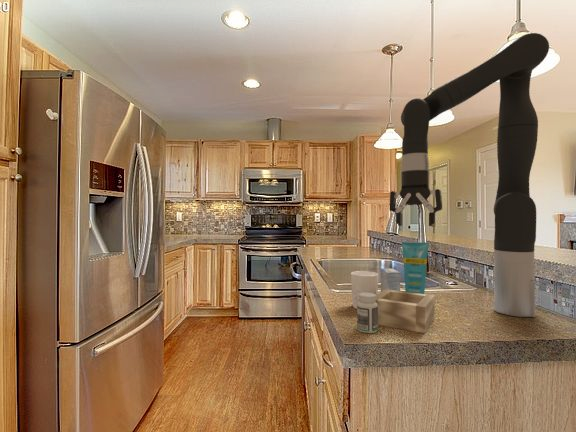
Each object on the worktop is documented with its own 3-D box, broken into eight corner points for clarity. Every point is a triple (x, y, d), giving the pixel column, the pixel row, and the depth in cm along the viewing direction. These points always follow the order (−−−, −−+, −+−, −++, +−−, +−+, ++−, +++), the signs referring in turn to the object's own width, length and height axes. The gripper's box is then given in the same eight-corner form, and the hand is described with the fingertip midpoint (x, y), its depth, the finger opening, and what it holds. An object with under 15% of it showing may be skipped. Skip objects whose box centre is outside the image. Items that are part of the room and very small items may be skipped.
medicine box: (400, 299, 106) (400, 272, 106) (386, 299, 106) (386, 272, 106) (393, 293, 113) (393, 268, 113) (380, 293, 114) (380, 268, 114)
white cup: (345, 307, 96) (345, 273, 96) (359, 302, 102) (359, 270, 102) (369, 313, 90) (369, 277, 90) (383, 307, 96) (383, 273, 96)
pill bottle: (375, 326, 79) (375, 292, 79) (380, 333, 75) (380, 296, 75) (355, 326, 80) (355, 291, 79) (359, 333, 75) (359, 296, 75)
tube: (401, 308, 95) (401, 242, 95) (401, 304, 99) (401, 241, 99) (429, 310, 92) (429, 242, 92) (427, 306, 97) (427, 241, 97)
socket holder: (434, 318, 86) (434, 295, 86) (424, 333, 75) (425, 307, 75) (385, 310, 93) (385, 289, 93) (369, 323, 82) (369, 299, 82)
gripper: (443, 170, 95) (443, 226, 95) (393, 173, 103) (393, 225, 103) (439, 166, 89) (439, 226, 89) (386, 171, 96) (386, 226, 96)
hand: (415, 225), depth 96 cm, fingers open, 8 cm apart
